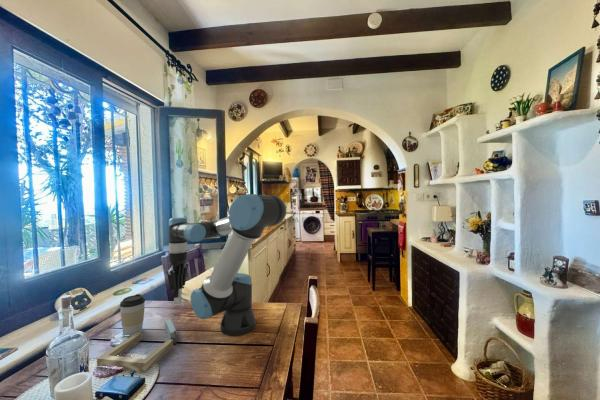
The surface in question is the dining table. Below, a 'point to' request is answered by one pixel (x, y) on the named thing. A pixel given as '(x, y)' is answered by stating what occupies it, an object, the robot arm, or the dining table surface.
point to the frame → (133, 363)
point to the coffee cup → (132, 314)
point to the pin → (174, 337)
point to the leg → (169, 328)
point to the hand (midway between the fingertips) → (177, 303)
